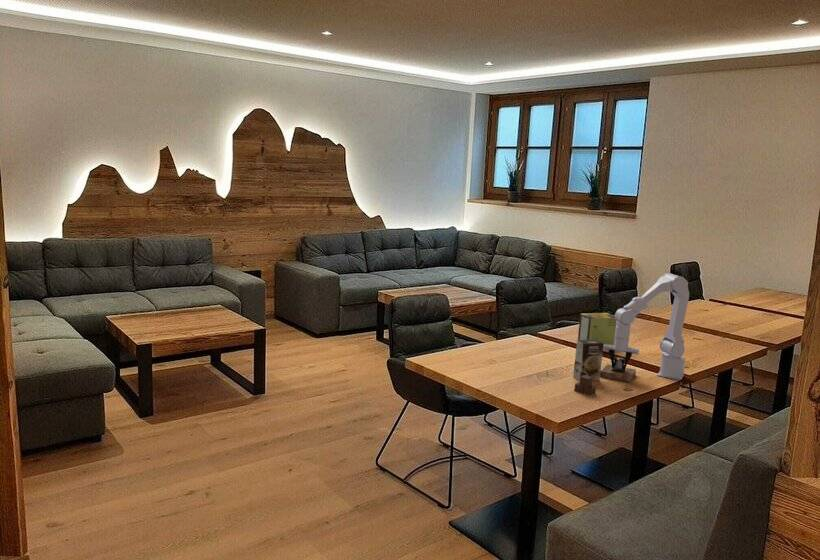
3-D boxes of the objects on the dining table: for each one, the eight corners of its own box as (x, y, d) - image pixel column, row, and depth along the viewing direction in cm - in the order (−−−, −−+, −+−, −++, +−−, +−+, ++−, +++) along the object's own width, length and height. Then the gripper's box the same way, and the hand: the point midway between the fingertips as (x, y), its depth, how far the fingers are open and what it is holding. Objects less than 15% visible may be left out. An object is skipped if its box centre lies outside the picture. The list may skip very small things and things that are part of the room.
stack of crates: (612, 393, 250) (614, 376, 249) (594, 402, 239) (596, 385, 238) (577, 383, 260) (579, 367, 259) (559, 392, 249) (560, 375, 248)
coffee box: (580, 381, 261) (584, 343, 258) (572, 376, 267) (576, 339, 264) (600, 380, 263) (604, 343, 260) (592, 375, 269) (595, 338, 266)
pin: (623, 374, 271) (625, 358, 270) (622, 376, 268) (624, 360, 266) (613, 372, 273) (615, 356, 272) (612, 375, 269) (614, 359, 268)
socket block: (635, 375, 272) (635, 369, 272) (629, 382, 262) (629, 377, 262) (606, 369, 278) (607, 364, 278) (599, 376, 268) (600, 371, 268)
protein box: (615, 348, 313) (619, 317, 310) (587, 349, 309) (590, 318, 306) (604, 342, 323) (607, 312, 320) (576, 343, 319) (579, 313, 316)
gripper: (640, 337, 268) (636, 368, 271) (604, 332, 273) (601, 363, 276) (640, 341, 262) (636, 373, 264) (603, 336, 267) (600, 367, 269)
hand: (618, 368), depth 269 cm, fingers open, 4 cm apart
